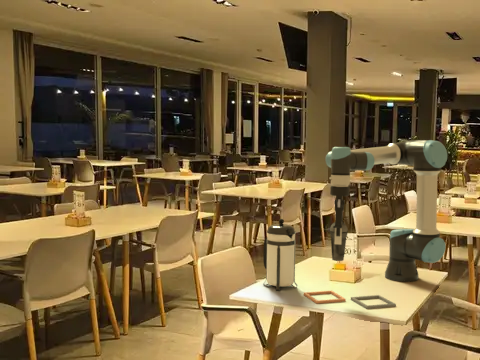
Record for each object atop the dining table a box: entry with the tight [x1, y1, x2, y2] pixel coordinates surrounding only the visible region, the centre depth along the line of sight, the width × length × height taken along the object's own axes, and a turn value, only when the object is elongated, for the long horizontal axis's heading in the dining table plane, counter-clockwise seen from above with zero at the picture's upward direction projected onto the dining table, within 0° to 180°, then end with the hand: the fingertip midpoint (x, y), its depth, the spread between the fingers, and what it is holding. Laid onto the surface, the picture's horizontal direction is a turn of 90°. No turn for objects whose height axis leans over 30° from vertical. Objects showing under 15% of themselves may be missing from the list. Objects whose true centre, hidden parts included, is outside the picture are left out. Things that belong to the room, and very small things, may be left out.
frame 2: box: [350, 294, 397, 310], centre depth 223 cm, size 13×13×1 cm
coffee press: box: [263, 218, 298, 292], centre depth 246 cm, size 17×16×30 cm
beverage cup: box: [329, 221, 349, 262], centre depth 226 cm, size 7×7×20 cm
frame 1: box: [303, 290, 347, 304], centre depth 229 cm, size 13×13×1 cm
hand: (338, 242), depth 226 cm, fingers closed on beverage cup, 7 cm apart
